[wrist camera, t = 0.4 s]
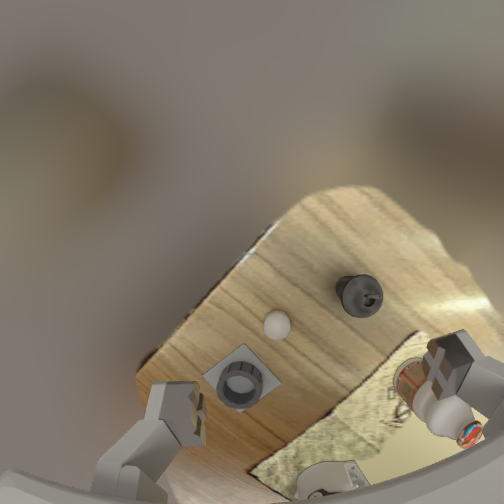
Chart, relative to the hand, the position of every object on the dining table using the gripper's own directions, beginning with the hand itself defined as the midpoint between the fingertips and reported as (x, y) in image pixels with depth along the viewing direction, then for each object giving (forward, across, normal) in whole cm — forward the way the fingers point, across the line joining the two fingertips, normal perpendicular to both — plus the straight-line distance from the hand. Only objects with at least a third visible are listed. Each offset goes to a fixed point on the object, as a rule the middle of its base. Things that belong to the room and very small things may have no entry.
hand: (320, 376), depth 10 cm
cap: (+41, 0, -32) cm, 52 cm away
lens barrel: (+36, -9, -43) cm, 57 cm away
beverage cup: (+43, +15, -28) cm, 53 cm away
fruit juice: (+32, +29, -48) cm, 65 cm away
